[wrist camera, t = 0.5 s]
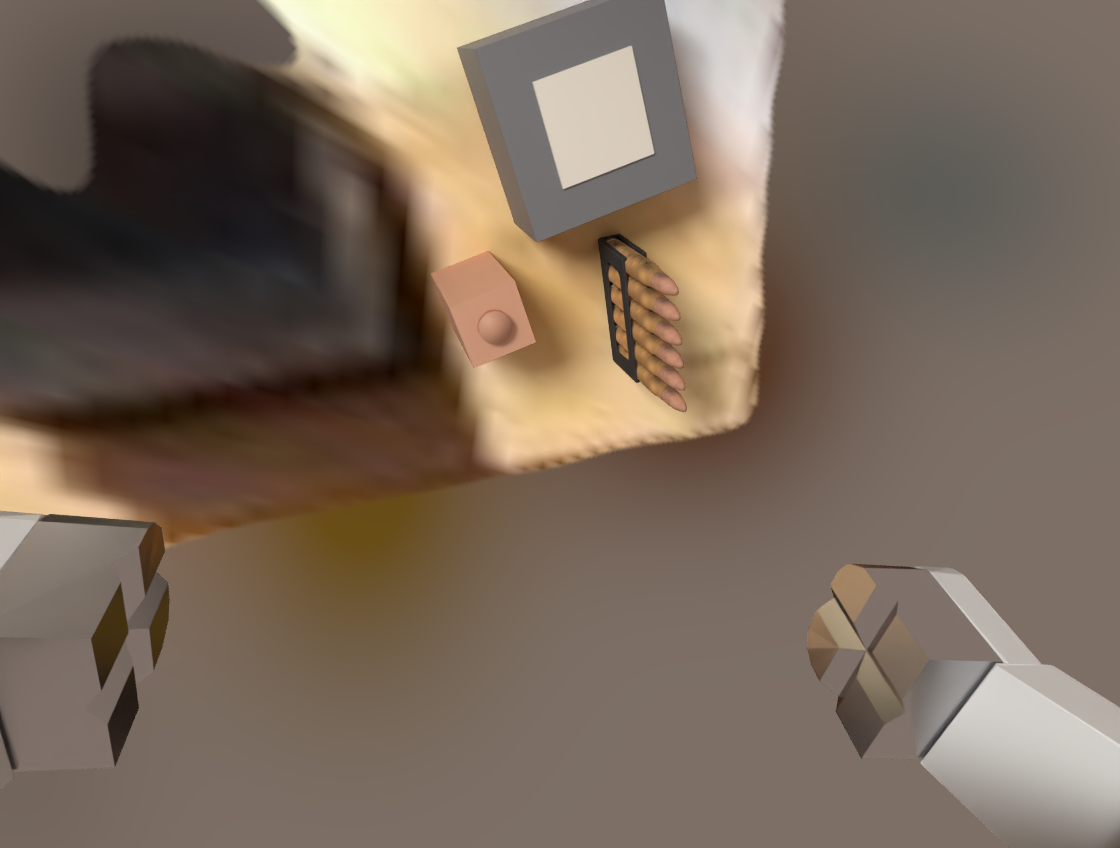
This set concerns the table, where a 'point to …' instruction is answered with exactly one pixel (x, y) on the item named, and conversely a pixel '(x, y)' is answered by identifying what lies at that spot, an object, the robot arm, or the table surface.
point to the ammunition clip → (642, 318)
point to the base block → (581, 112)
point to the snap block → (484, 308)
